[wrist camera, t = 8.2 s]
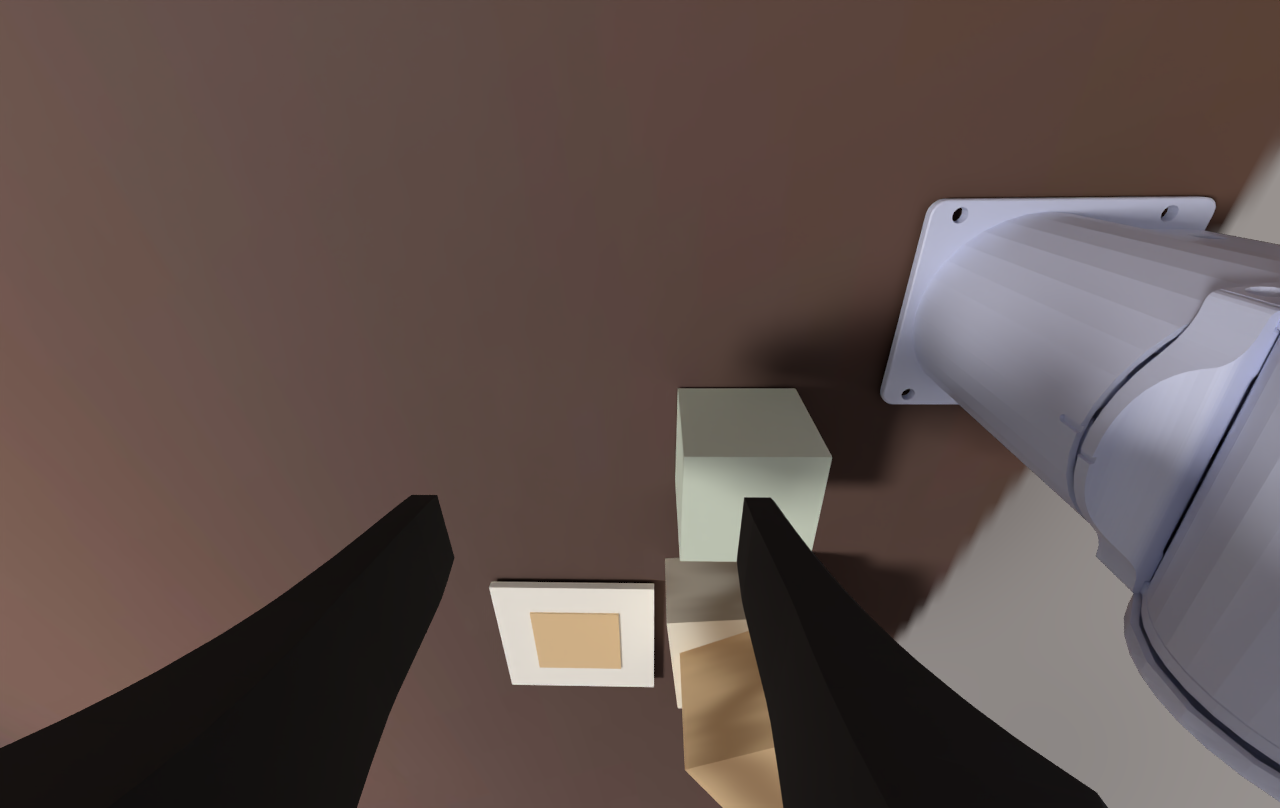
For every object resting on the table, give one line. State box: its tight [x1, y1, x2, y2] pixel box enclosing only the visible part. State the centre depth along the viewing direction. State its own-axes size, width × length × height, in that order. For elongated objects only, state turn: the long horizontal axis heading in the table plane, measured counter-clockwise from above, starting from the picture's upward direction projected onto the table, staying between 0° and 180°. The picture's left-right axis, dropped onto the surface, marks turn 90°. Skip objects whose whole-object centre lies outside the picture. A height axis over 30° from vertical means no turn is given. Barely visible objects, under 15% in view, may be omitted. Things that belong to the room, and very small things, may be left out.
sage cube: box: [675, 388, 832, 562], centre depth 20 cm, size 5×5×5 cm
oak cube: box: [680, 631, 783, 808], centre depth 22 cm, size 5×5×5 cm
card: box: [489, 582, 654, 687], centre depth 29 cm, size 9×9×1 cm
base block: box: [665, 558, 749, 708], centre depth 26 cm, size 7×7×4 cm
